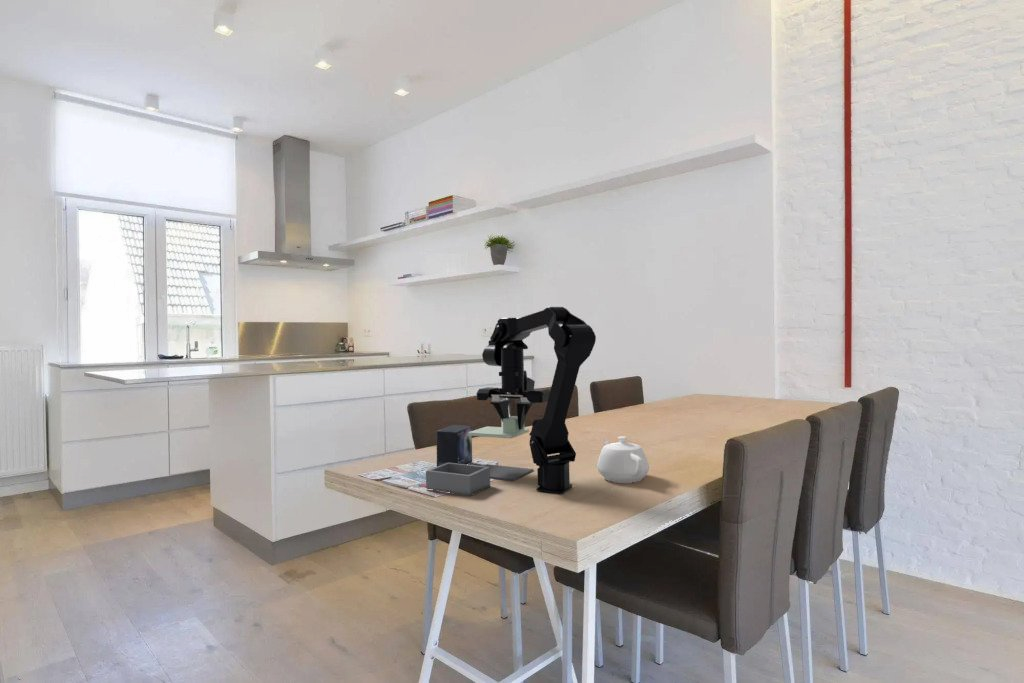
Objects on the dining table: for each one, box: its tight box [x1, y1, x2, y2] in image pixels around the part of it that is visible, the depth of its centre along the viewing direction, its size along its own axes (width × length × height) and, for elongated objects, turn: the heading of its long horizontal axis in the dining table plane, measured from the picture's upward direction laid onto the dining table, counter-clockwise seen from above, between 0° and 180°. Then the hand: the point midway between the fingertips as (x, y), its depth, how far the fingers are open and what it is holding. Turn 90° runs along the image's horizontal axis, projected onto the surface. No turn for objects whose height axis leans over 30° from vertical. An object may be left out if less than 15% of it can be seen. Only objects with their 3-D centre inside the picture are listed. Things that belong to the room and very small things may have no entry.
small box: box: [436, 424, 473, 467], centre depth 155 cm, size 11×6×10 cm, turn 161°
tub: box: [425, 463, 491, 497], centre depth 133 cm, size 12×9×4 cm
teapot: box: [596, 435, 650, 484], centre depth 139 cm, size 20×12×10 cm, turn 14°
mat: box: [483, 463, 534, 482], centre depth 147 cm, size 14×11×1 cm
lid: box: [468, 415, 530, 440], centre depth 146 cm, size 13×10×5 cm
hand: (513, 428), depth 144 cm, fingers closed on lid, 3 cm apart
